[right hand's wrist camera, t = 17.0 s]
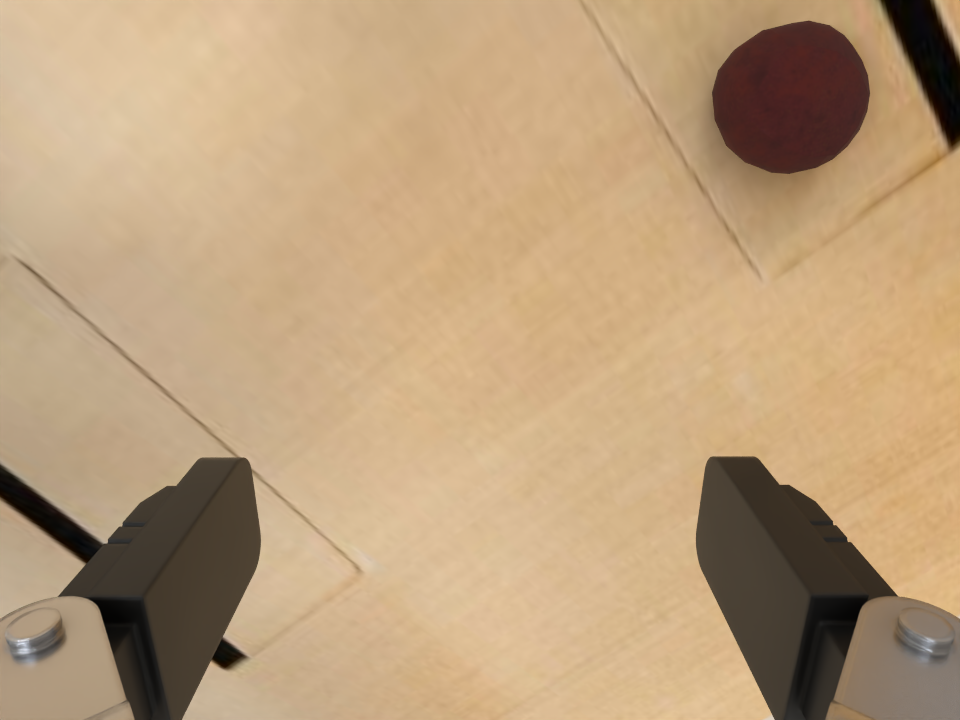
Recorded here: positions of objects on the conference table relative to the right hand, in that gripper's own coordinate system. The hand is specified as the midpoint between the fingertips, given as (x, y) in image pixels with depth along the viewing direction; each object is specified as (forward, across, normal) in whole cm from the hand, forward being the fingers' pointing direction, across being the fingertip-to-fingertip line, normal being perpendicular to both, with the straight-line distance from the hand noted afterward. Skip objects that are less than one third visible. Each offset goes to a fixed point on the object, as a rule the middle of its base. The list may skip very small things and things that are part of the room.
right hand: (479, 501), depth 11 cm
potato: (+31, +16, +7) cm, 36 cm away
